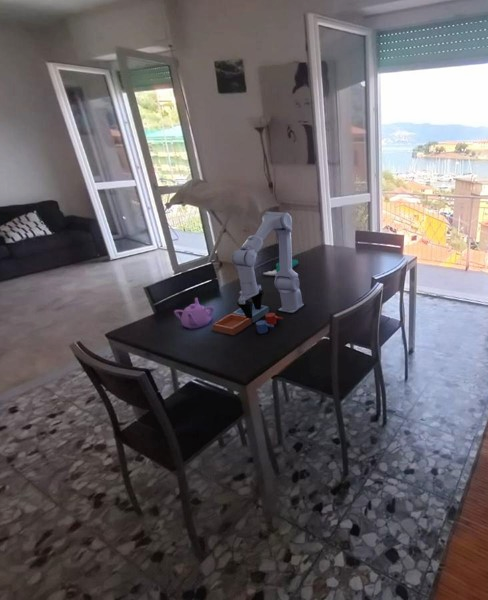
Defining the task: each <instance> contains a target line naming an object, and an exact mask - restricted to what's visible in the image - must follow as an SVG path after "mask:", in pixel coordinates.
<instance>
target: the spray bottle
mask: <svg viewBox="0 0 488 600" xmlns="http://www.w3.org/2000/svg"><path fill="white" fill-rule="evenodd" d="M298 265H299V261H298V259H295V258H292V269H293V268H294V267H296V266H298ZM278 271H280V261H278V262H277V263H276V264H275V269H273V270H271V271H270V270H268V271H266V272H263V273H262V274H263V275H265V276H276V275H275V274H276V273H277V272H278Z"/></svg>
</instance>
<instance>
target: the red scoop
mask: <svg viewBox="0 0 488 600" xmlns="http://www.w3.org/2000/svg"><path fill="white" fill-rule="evenodd" d="M264 317H265V321H266V322H267V324H270V325H274V326H275V325H276V324H277V320H283V319H284V318H283V317H282V316H278V315H276V313H275V312H269V313H267V314H266V315H264Z"/></svg>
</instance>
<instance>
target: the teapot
mask: <svg viewBox="0 0 488 600" xmlns="http://www.w3.org/2000/svg"><path fill="white" fill-rule="evenodd" d="M214 310H215V308H214V306H213V305H208V306H203V304H200V302H199V298H198V297H194V303H191V304H189V305H188V306H186V307H185V308H184V309H175V310H174V311H173V313H174V316H176V317H177V318H178V319H179V320H180V323H181V325H182V326H183V327H184V328H186V329H190V330H193V329H200V328H203V327H205V326H207V325H209V323H211V321H212V315H213V313H214ZM180 313H182V314H181V315H180Z"/></svg>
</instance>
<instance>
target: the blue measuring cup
mask: <svg viewBox="0 0 488 600" xmlns="http://www.w3.org/2000/svg"><path fill="white" fill-rule="evenodd" d="M255 326H256V331H257V334H261V335H263V334H266V333H267V332H268V331H269V329H268V328H275V325H270V324H267V322H266V319H265V320H263V319H260V320H257V321H255Z"/></svg>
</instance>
